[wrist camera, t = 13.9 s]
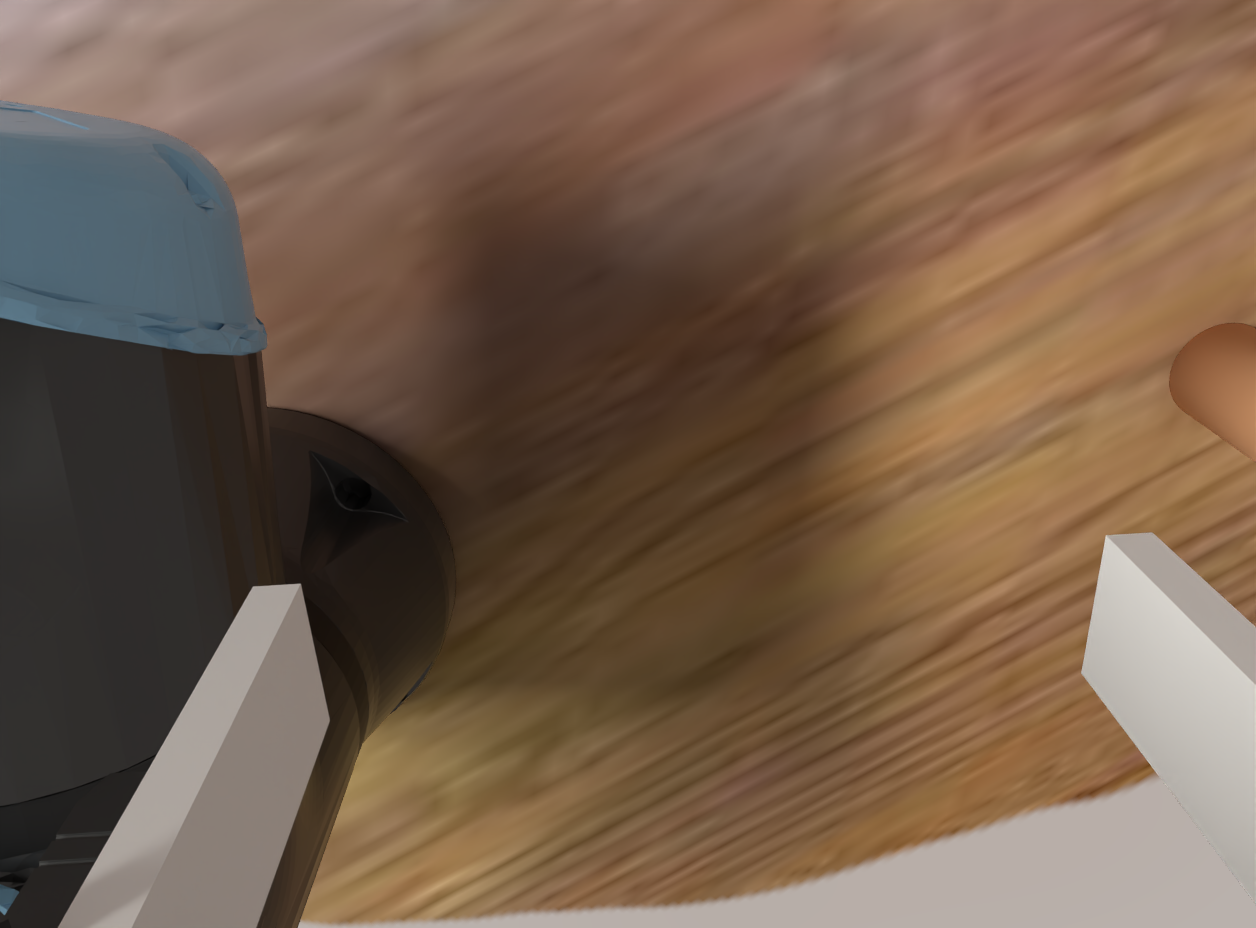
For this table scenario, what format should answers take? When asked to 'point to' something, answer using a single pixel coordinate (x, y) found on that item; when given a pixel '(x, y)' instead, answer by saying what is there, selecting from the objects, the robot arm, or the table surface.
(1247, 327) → the push rod with block
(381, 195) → the table surface
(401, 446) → the table surface
